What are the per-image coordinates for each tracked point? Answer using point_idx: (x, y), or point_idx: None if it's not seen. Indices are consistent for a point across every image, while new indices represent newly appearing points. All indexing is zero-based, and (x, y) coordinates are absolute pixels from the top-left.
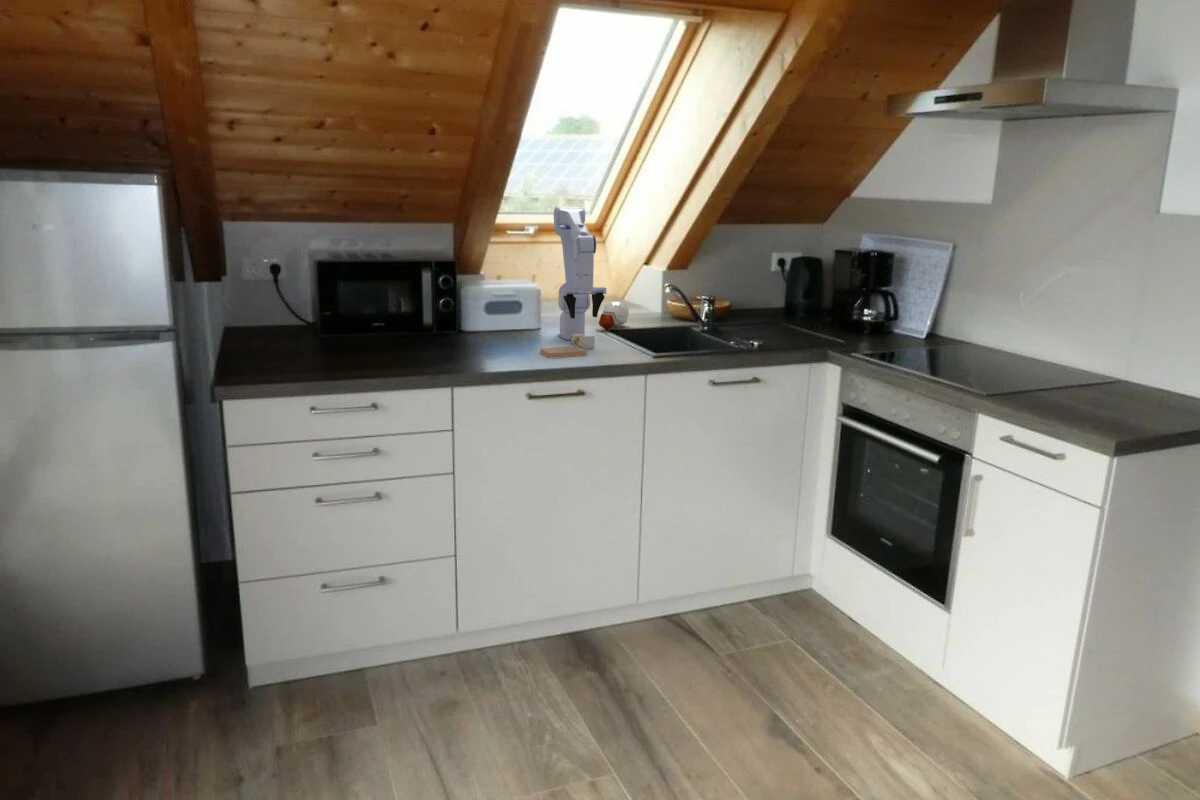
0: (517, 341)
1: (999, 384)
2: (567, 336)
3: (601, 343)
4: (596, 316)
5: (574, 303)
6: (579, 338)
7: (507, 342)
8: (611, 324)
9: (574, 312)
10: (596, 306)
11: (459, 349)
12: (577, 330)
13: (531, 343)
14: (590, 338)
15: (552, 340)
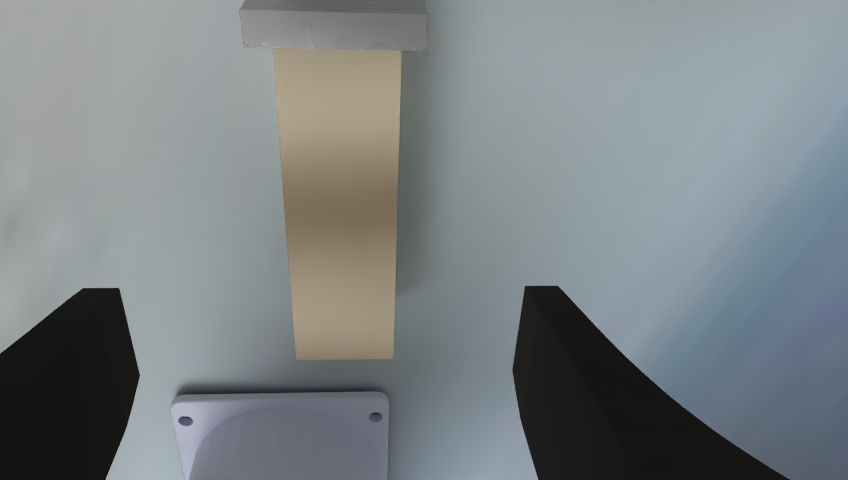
0: (759, 444)
1: None
2: (363, 443)
3: (99, 204)
4: (85, 294)
5: (664, 472)
6: (398, 153)
7: (844, 432)
8: None
9: (567, 340)
10: (6, 427)
11: None
12: (277, 461)
13: (715, 364)
14: (307, 2)
15: (498, 418)
